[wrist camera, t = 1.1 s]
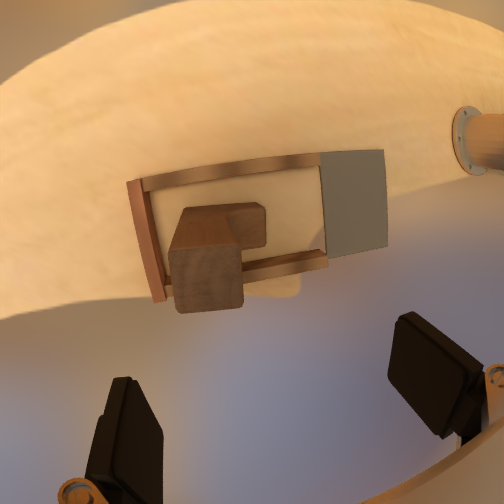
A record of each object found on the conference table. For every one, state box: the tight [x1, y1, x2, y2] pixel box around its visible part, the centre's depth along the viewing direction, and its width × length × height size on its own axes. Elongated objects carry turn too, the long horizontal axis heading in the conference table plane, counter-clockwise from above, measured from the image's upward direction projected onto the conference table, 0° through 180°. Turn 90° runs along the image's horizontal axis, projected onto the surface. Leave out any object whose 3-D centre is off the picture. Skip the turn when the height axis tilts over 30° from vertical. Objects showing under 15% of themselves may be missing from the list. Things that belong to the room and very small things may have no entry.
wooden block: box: [168, 202, 266, 314], centre depth 27 cm, size 9×4×18 cm, turn 93°
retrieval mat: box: [319, 150, 388, 259], centre depth 37 cm, size 10×14×1 cm
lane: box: [126, 153, 328, 303], centre depth 34 cm, size 22×14×4 cm, turn 98°
